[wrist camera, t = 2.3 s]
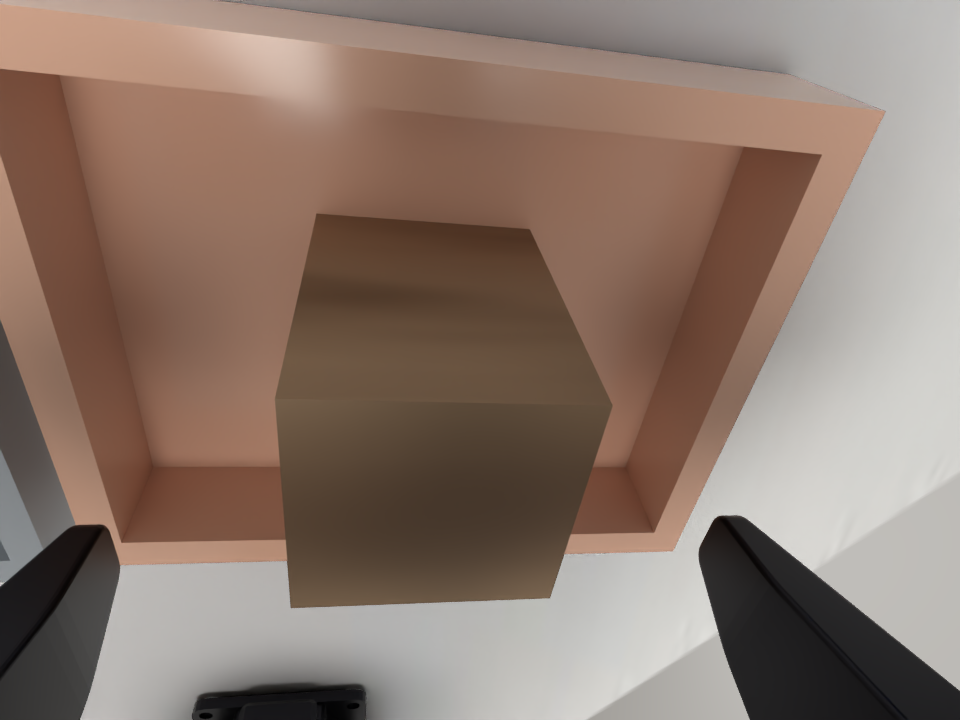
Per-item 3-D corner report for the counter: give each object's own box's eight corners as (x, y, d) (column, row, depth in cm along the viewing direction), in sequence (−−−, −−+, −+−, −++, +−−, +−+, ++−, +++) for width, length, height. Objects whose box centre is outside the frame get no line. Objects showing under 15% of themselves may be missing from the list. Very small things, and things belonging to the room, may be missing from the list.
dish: (636, 471, 19) (672, 551, 17) (133, 471, 17) (90, 565, 14) (790, 74, 13) (885, 111, 10) (-1, -28, 10) (-121, -11, 8)
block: (499, 391, 16) (549, 598, 11) (320, 387, 15) (291, 607, 10) (529, 229, 13) (612, 405, 9) (316, 213, 13) (274, 398, 8)
